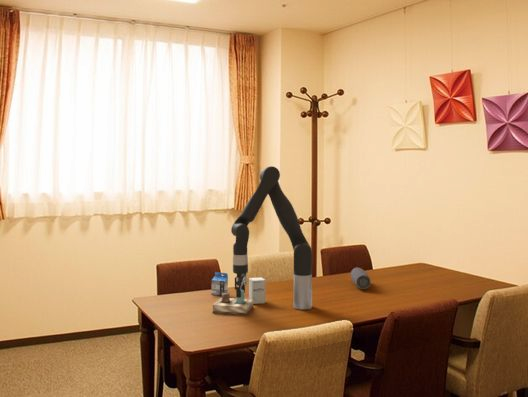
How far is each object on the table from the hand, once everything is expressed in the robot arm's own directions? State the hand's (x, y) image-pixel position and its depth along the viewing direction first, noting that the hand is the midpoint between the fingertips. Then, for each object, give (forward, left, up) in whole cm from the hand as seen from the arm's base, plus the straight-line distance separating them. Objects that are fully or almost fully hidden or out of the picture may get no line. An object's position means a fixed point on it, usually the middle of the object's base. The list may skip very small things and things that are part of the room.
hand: (240, 295), depth 256 cm
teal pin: (0, 0, -7) cm, 7 cm away
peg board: (+4, 0, -8) cm, 9 cm away
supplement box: (-4, -17, -8) cm, 19 cm away
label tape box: (+20, -28, -8) cm, 35 cm away
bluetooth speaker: (-57, -64, -8) cm, 87 cm away
